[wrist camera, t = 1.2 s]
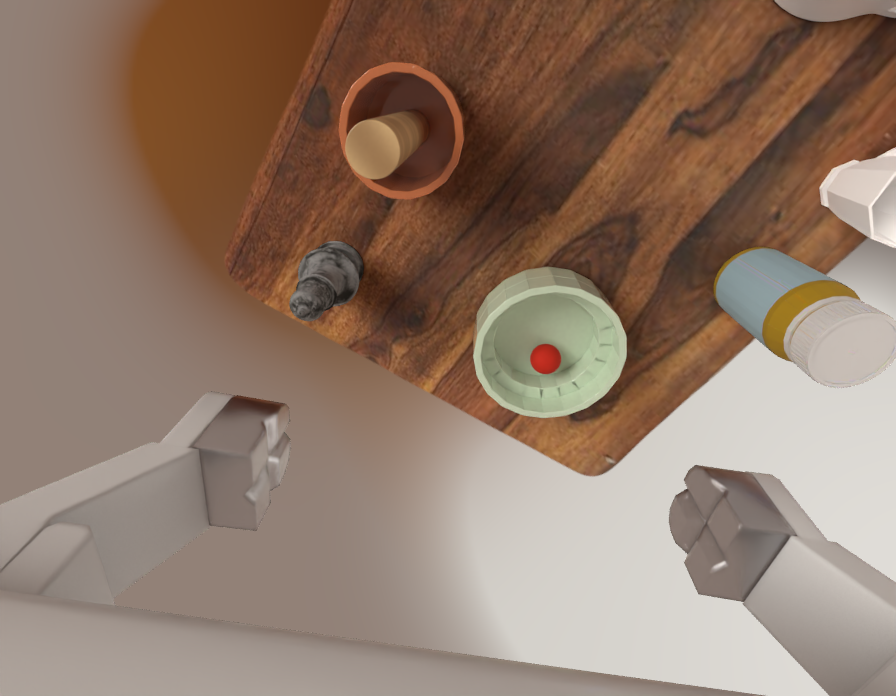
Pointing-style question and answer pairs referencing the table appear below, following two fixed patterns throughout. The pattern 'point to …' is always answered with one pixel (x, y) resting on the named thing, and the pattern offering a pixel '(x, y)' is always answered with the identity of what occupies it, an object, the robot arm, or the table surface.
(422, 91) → the crock
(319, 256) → the grey chess piece
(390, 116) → the stick
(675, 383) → the table surface
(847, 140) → the table surface
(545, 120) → the table surface
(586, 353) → the bowl
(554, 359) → the ball
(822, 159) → the table surface
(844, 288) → the bottle
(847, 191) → the cup
